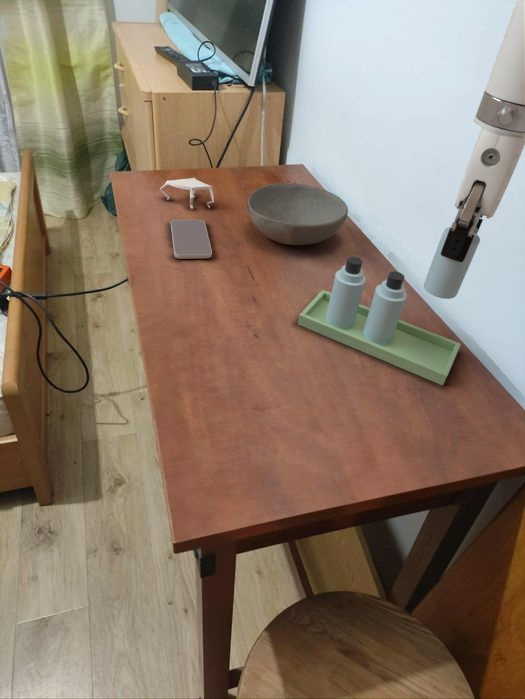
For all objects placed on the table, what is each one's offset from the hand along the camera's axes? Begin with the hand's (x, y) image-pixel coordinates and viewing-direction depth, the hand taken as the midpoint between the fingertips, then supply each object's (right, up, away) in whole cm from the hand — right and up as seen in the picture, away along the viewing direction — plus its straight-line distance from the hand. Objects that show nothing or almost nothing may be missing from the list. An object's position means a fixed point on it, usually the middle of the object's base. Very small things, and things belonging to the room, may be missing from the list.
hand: (457, 248), depth 72 cm
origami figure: (-45, +20, +47) cm, 68 cm away
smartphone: (-42, +8, +34) cm, 55 cm away
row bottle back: (-14, -9, +17) cm, 24 cm away
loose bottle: (-1, -5, +5) cm, 7 cm away
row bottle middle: (-8, -12, +15) cm, 21 cm away
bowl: (-21, +11, +40) cm, 46 cm away
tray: (-8, -12, +15) cm, 21 cm away
